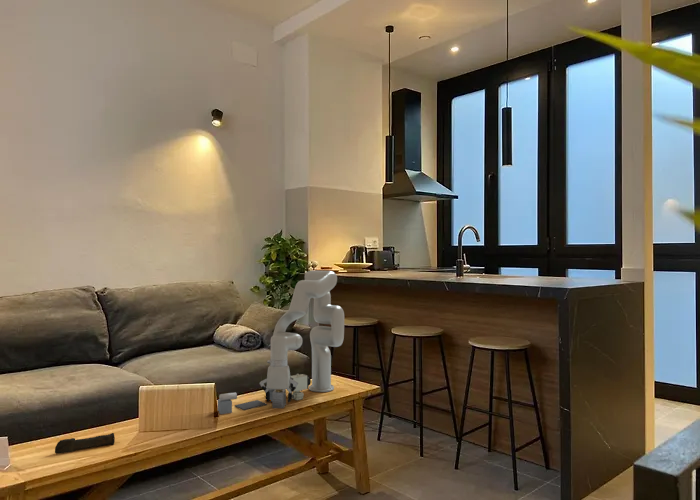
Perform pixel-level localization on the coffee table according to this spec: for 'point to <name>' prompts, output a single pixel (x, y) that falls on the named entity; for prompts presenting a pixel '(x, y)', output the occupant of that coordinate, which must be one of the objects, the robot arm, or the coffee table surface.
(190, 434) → the coffee table surface
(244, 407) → the pad
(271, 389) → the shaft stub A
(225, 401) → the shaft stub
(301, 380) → the pneumatic valve
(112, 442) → the hand tool
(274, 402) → the block
